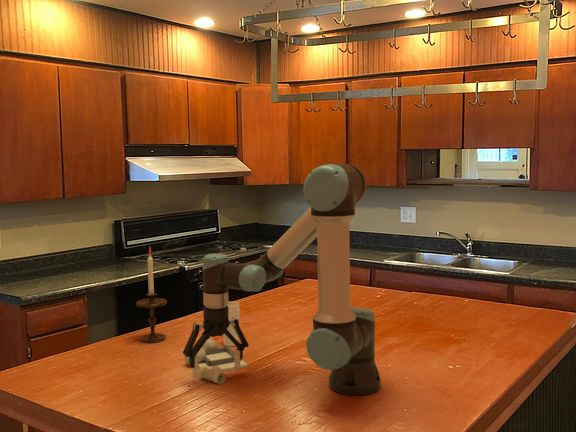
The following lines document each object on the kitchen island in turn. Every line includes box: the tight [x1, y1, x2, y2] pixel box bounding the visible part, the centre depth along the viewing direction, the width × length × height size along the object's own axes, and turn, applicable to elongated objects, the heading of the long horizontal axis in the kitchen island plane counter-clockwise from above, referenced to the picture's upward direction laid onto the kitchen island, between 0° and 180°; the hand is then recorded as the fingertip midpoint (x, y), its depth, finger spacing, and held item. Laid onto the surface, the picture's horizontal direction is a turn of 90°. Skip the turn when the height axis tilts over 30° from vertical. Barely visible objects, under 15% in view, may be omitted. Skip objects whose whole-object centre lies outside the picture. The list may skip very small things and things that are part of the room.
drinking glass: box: [222, 301, 241, 347], centre depth 216 cm, size 7×7×15 cm
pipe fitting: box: [198, 366, 226, 385], centre depth 183 cm, size 8×4×7 cm
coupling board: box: [183, 337, 248, 373], centre depth 199 cm, size 22×17×5 cm
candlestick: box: [136, 245, 168, 344], centre depth 222 cm, size 11×11×35 cm
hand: (216, 373), depth 183 cm, fingers open, 13 cm apart
